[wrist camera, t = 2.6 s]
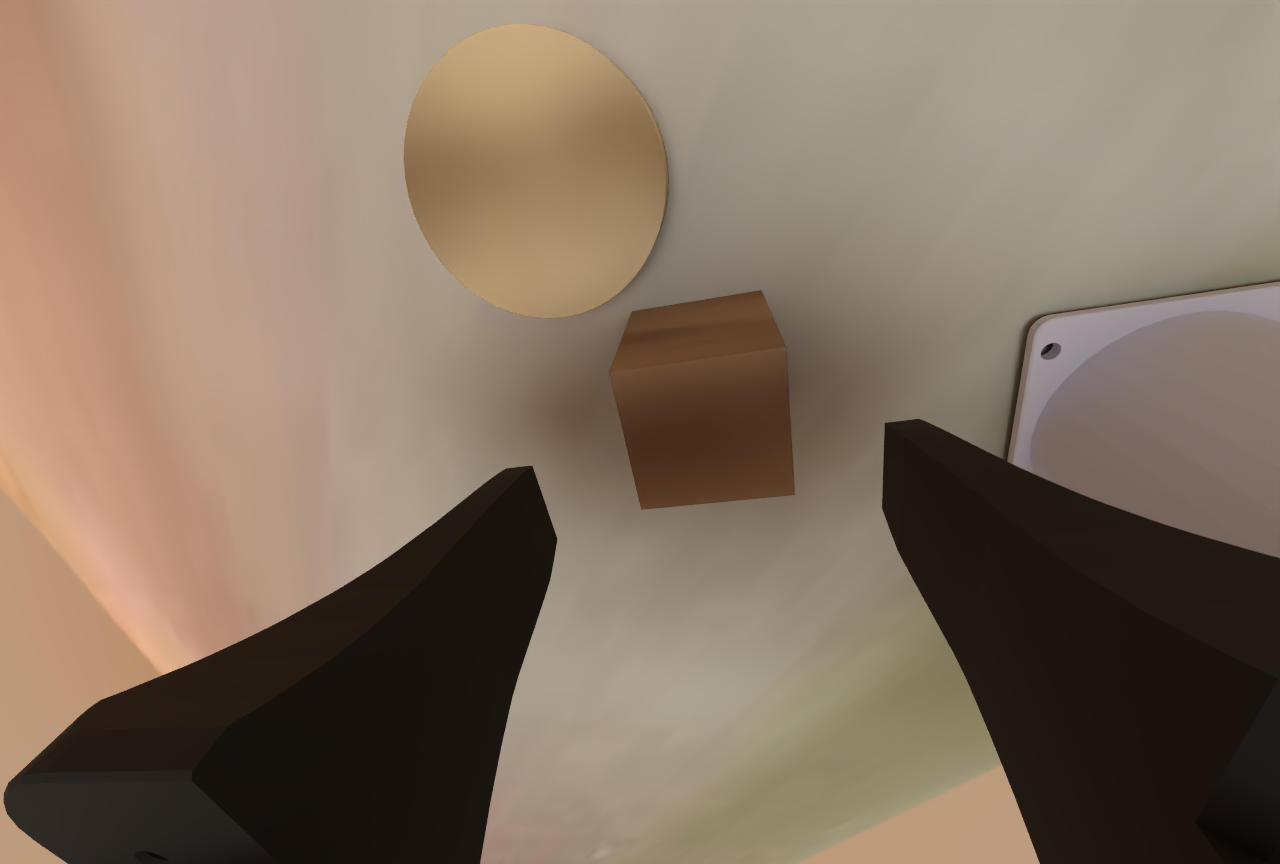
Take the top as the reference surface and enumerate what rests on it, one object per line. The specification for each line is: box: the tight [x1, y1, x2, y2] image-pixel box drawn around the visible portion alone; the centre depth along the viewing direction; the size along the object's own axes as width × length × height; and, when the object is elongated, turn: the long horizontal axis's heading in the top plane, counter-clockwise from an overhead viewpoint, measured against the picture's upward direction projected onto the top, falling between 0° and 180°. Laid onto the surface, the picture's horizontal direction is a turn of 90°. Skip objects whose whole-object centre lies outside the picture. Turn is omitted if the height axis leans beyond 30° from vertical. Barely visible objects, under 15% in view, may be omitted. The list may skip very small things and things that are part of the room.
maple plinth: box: [404, 24, 669, 318], centre depth 14 cm, size 7×7×2 cm
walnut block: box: [609, 291, 795, 509], centre depth 15 cm, size 4×4×5 cm
